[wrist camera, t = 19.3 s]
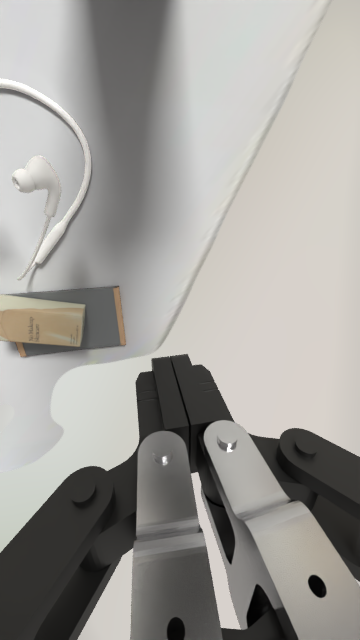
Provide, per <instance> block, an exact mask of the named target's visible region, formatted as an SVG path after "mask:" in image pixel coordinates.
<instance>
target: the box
mask: <svg viewBox="0 0 360 640" xmlns="http://www.w3.org/2000/svg"><path fill="white" fill-rule="evenodd" d="M85 306H86V305H85V304H76V303H68V302H59V301H51V300H42V299H34V298H26V297H18V296H9V295H2V294H1V295H0V341H10V342H23V343H36V344H50V345H62V346H75V347H80V344H81V341H82V337H83V329H84V318H85Z"/></svg>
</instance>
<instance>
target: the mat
mask: <svg viewBox="0 0 360 640" xmlns="http://www.w3.org/2000/svg"><path fill="white" fill-rule="evenodd" d="M6 295H9V296H18V297H26V298H34V299H42V300H51V301H59V302H68V303H76V304H85V305H86V306H85V318H84V329H83V337H82V341H81V344H80V347H75V346H62V345H50V344H36V343H23V342H16V345H17V348H18V351H19V353H20V356H21V357H24V356H29V355H38V354H47V353H56V352H65V351H73V350H82V349H91V348H100V347H109V346H117V345H126V341H125V333H124V325H123V316H122V308H121V300H120V292H119V286H114V287H101V288H87V289H74V290H60V291H47V292H33V293H20V294H6Z"/></svg>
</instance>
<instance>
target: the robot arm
mask: <svg viewBox="0 0 360 640" xmlns="http://www.w3.org/2000/svg"><path fill="white" fill-rule="evenodd" d="M136 395H137V408H138V421H139V435H140V438H139V444H138V447H137V449H136V451H135V452H134V453H133V455H132V456H131V457H130V458H129V459H128V460H127V461H125V462H123V463H122V464H120V465H118V466H116V467H115V468H112V469H111V470H109V471H106V470H105V469H103V468H101V467H97V466H89V467H84V468H81V469H79V470H77V471H75V472H74V473H72V474H71V475H70V476H68V477H67V478H66V479H65V480H64V482H63V483H62V484H61V485H60V486H59V487H58V488H57V489H56V490H55V492H54V493H53V494H52V495H51V496H50V497H49V498H48V500H47V501H46V502H45V503H44V504H43V505H42V506H41V508H40V509H39V510H38V511H37V512H36V513H35V514H34V515H33V517H32V518H31V519H30V520H29V521H28V522H27V523H26V525H25V526H24V527H23V528H22V529H21V530H20V531H19V533H18V534H17V535H16V536H15V537H14V538H13V539H12V540H11V541H10V543H9V544H8V545H7V546H6V547H5V548H4V549H3V551H2V552H1V553H0V640H77V639H78V637H79V635H80V633H81V632H82V630H83V628H84V626H85V624H86V622H87V621H88V619H89V617H90V615H91V613H92V611H93V609H94V608H95V606H96V604H97V602H98V600H99V598H100V597H101V595H102V593H103V591H104V589H105V587H106V585H107V584H108V582H109V580H110V578H111V576H112V574H113V573H114V571H115V569H116V567H117V565H118V563H119V561H120V559H121V557H122V555H124V554H125V553H127V552H128V551H129V550H131V549H132V548H133V569H132V602H131V603H132V604H131V637H130V640H360V586H359V584H358V583H357V582H356V580H355V579H357V580H358V581H360V457H359V456H356V455H355V454H353V453H351V452H349V451H346V450H345V449H343V448H341V447H339V446H337V445H335V444H333V443H331V442H329V441H327V440H325V439H323V438H322V437H320V436H318V435H316V434H314V433H312V432H310V431H307V430H304V429H299V428H292V429H288V430H286V431H284V432H283V433H282V435H281V437H280V439H275V438H274V439H273V438H266V437H258V436H254V435H251V434H249V433H247V431H246V430H245V429H244V428H243V427H242V426H240V425H239V424H237V423H235V422H234V420H233V418H232V416H231V414H230V412H229V410H228V408H227V406H226V404H225V402H224V400H223V398H222V396H221V394H220V391H219V390H218V387H217V385H216V383H215V382H214V379H213V377H212V375H211V373H210V371H208V370H207V369H206V368H205V367H204V366H202V365H193V366H192V364H191V361H190V359H189V357H188V354H184V355H176V356H170V358H169V356H168V357H161V358H153V359H152V371H149V372H142V373H140V374H139V376H138V378H137V380H136ZM195 472H198V473H199V477H200V480H201V495H202V499H203V502H204V505H205V508H206V511H207V514H208V517H209V520H210V523H211V526H212V529H213V532H214V535H215V538H216V541H217V544H218V547H219V550H220V553H221V556H222V559H223V562H224V565H225V569H226V573H227V578H228V585H229V590H230V594H231V598H232V602H233V606H234V609H235V612H236V615H237V618H238V621H239V624H240V628H241V630H237V629H226V628H221V627H220V621H219V616H218V610H217V604H216V598H215V593H214V587H213V581H212V576H211V570H210V564H209V559H208V553H207V547H206V543H205V538H204V534H203V531H202V529H201V527H200V524H199V520H198V515H197V509H196V502H195V496H194V490H193V484H192V478H191V473H195Z"/></svg>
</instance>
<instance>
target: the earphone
mask: <svg viewBox="0 0 360 640" xmlns="http://www.w3.org/2000/svg"><path fill="white" fill-rule="evenodd" d="M0 88H6V89H12V90H16V91H19V92H22V93H24V94H27V95H29V96H31V97H33V98H35V99H37V100H39V101H40V102H42V103H44V104H45V105H47V106H48V107H50V108H51V109H53V110H54V111H55V112H56V113H58V114H59V115H60V116H61V117H62V118H63V119H64V120H65V121H66V122H67V123H68V124H69V125H70V126H71V127H72V129H73V130H74V131H75V133H76V134H77V136H78V138H79V140H80V142H81V145H82V148H83V151H84V157H85V173H84V178H83V182H82V186H81V188H80V191H79V193H78V196H77V198H76V199H75V201H74V203H73V205H72V206H71V207H70V209H69V211H68V212H67V214H66V215H65V217H64V218H63V220H61V221H60V222H59V223H58V224H57V225H55V226H54V228H53V229H52V231H51V232H50V233H49V235H48V236H47V237H46V239H45V240H44V242H43V239H44V236H45V234H46V231H47V228H48V225H49V222H50V219H51V217H54V216H55V214H56V211H57V207H58V204H59V200H60V196H61V184H60V181H59V178H58V176H57V174H56V172H55V170H54V169H53V167H52V166H51V164H50V163H49V162H48V161H47V159H45V158H44V157H43V156H34V157H33V158H31V159H30V161H29V162H28V163H27V165H26V167H25V169H18V170H16V171H15V172H14V173H13V175H12V181H13V183H14V185H15V187H16V188H17V189H18V190H19V191H20V192H23V193H30V192H33V191H34V190H42V189H48V198H47V202H46V206H45V210H44V213H45V214H46V215H47V219H46V222H45V225H44V228H43V230H42V233H41V236H40V239H39V242H38V244H37V247H36V249H35V251H34V254H33V256H32V258H31V260H30V262H29V264H28V266H27V268H26V269H25V271H24V272H23V274H22V275H21V276H20V277H19V278H17V280H21V279H22V278H23V277H24V276H25V275H26V274H27V273H28V272H29V271H30V269H31V268H32V267H33V266H34V265H35V264H36V263H38V264H41V263H42V262H43V261H44V259H45V258H46V257H47V255H48V254H49V253H50V251H51V250H52V249H53V247H54V246H55V245H56V243H57V242H58V240H59V239H60V238H61V236H62V235H63V234H64V232H65V230H66V227H67V224H68V222H69V221H70V219H71V218H72V216H73V215H74V213H75V212H76V210H77V209H78V207H79V206H80V204H81V202H82V200H83V198H84V196H85V194H86V191H87V188H88V185H89V181H90V176H91V155H90V150H89V146H88V143H87V141H86V138H85V136H84V134H83V132H82V131H81V129H80V128H79V126H78V125H77V123H76V122H75V121H74V120H73V118H72V117H71V116H70V115H69V114H68V113H67V112H66V111H65V110H64V109H62V108H61V107H60V106H59V105H58V104H56V103H55V102H54V101H52V100H51V99H49V98H48V97H46V96H45V95H43V94H41V93H40V92H38V91H36V90H34V89H32V88H30V87H28V86H26V85H24V84H21V83H18V82H15V81H11V80H6V79H0ZM42 242H43V243H42Z"/></svg>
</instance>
